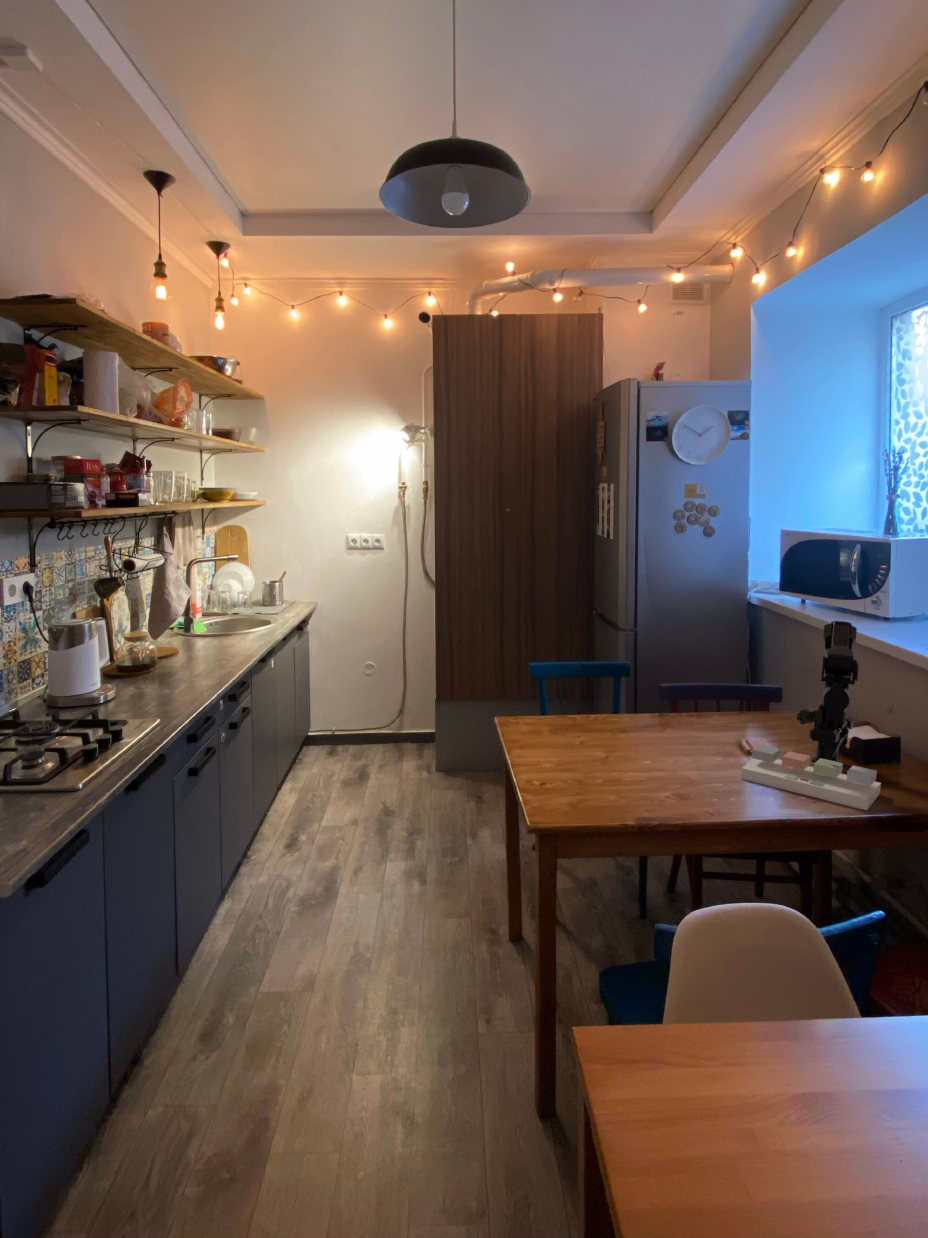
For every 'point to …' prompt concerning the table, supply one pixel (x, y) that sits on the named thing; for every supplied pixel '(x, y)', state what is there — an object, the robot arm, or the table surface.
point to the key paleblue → (861, 775)
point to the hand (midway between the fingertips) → (828, 759)
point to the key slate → (765, 753)
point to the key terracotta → (796, 760)
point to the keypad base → (811, 783)
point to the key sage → (828, 767)
